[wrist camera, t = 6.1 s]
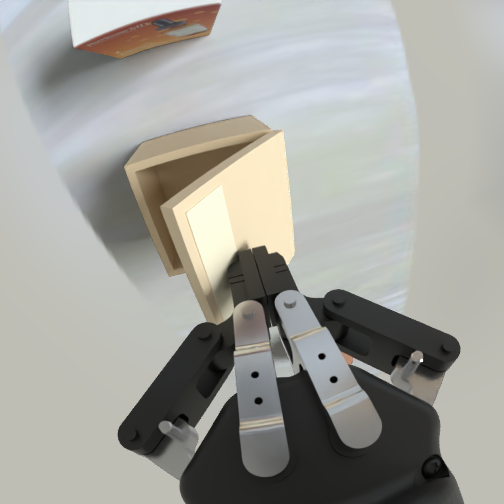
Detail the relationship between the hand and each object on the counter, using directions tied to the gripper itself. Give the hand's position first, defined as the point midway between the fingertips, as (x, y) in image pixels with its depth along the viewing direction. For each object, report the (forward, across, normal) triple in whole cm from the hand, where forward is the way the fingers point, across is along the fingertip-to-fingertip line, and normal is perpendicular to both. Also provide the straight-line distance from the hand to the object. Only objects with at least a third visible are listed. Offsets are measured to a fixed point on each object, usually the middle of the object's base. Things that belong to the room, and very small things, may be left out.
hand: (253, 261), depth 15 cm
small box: (+13, +3, -16) cm, 21 cm away
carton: (+13, +2, 0) cm, 13 cm away
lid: (+2, 0, 0) cm, 2 cm away
